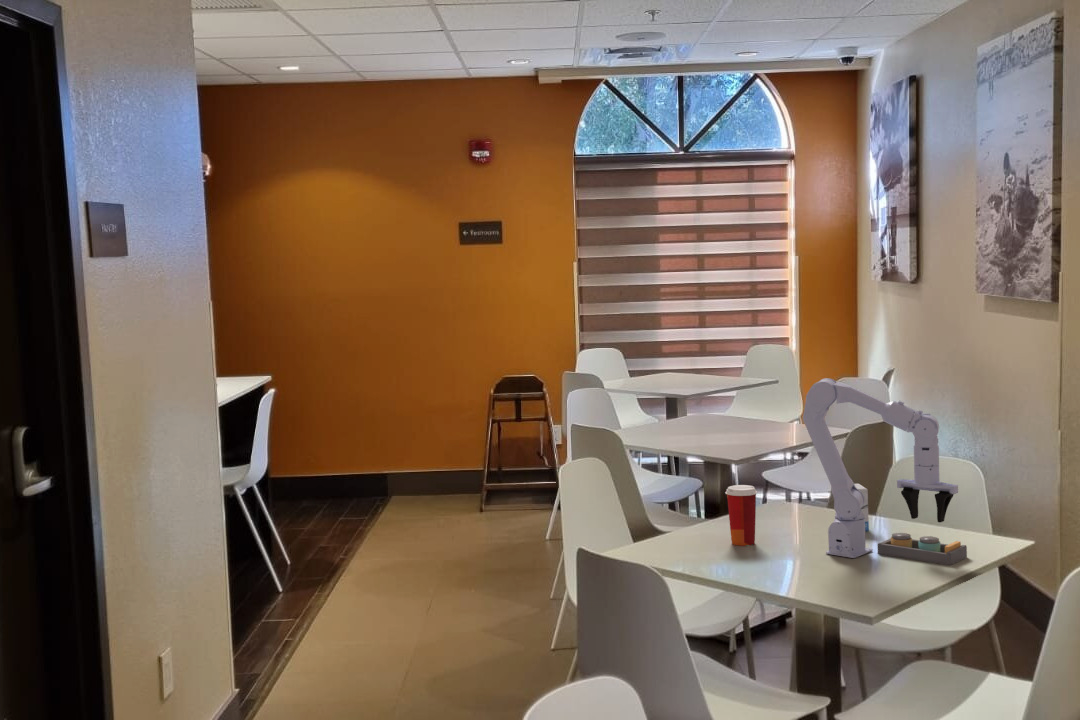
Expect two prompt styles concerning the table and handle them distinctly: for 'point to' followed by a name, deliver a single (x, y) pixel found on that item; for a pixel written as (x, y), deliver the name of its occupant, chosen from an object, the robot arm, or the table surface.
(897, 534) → the amber jar
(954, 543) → the plate
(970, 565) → the table surface
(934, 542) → the teal jar
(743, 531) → the coffee cup
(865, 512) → the ink box
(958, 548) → the grey rectangular tray
